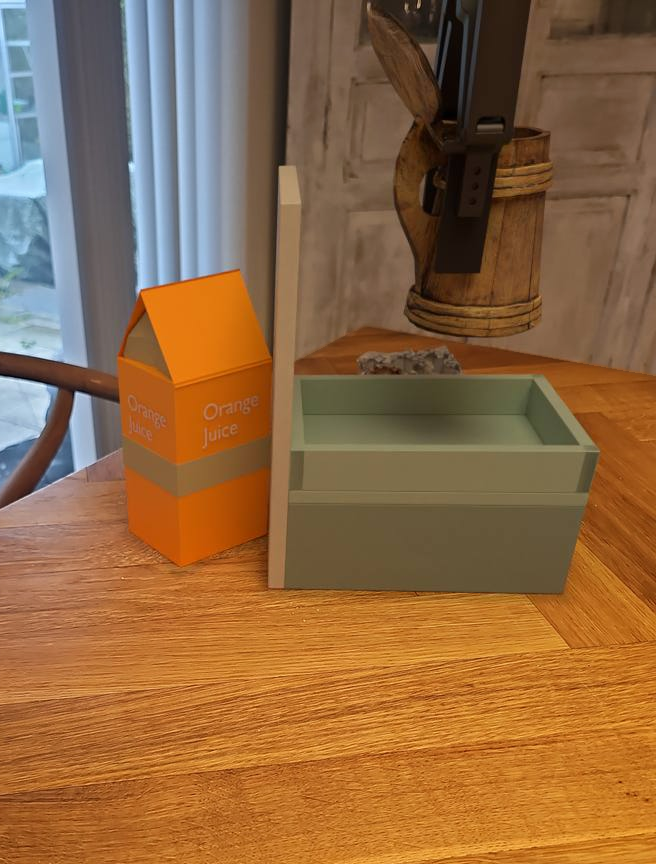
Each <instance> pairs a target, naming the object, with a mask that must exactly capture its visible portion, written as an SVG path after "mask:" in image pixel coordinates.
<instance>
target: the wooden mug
mask: <svg viewBox="0 0 656 864" xmlns="http://www.w3.org/2000/svg"><path fill="white" fill-rule="evenodd" d="M367 32H368V37H369V40H370V43H371V46H372V49H373V51H374V54H375V56H376V58H377V61H378V63H379V65H380V67H381V68H382V71H383V72H384V74H385V76H386V78H387V80H388V82H389V83H390V85H391V86H392V88H393V89H394V91H395V92H396V94H397V96H398V97H399V98H400V100H401V101H402V102H403V105H404V106H405V107H406V109H407V110H408V112H409V113H410V114H411V116H412V118H413V119H412V120H413V121H412V125H411V126H410V127H409V130H408V131H407V133H406V134H405V136H404V139H403V141H402V144H401V146H400V149H399V152H398V154H397V157H396V160H395V166H394V171H393V178H392V191H393V192H392V193H393V194H392V195H393V206H394V208H395V212H396V214H397V218H398V221H399V224H400V227H401V229H402V231H403V234H404V236H405V238H406V241H407V243H408V245H409V247H410V251H411V255H412V258H413V264H414V265H413V266H414V283H413V284H412V285H410V287H409V289H408V291H407V295H406V299H405V304H404V309H403V315H404V316H405V317H406V319H407V320H408V323H410V324H412V325H414V327H416V328H417V329H420V330H423V331H425V332H429V333H433V334H437V335H442V336H448V337H455V338H474V339H476V338H478V339H479V338H481V339H487V338H488V339H489V338H490V339H491V338H492V339H494V338H496V339H497V338H506V337H513V336H516V335H519V334H523V333H525V332H528V331H530V330H532V329H534V328H536V327H537V326H539V324H541V323H543V322H542V321H543V318H542V317H543V294H542V291H541V290H540V279H541V266H542V251H543V236H544V234H543V233H544V222H545V209H546V197H547V191H548V190H549V189H550V188H551V187H553V181H554V167H553V165H554V163H553V159H551V158H550V149H551V148H550V146H551V137H552V136H551V135H552V133H551V130H545V129H542V128H539V127H535V126H528V125H514V126H513V127H514V134H513V137H512V140H511V142H510V144H509V145H504V146H503V147H502V149H501V152H500V154H499V158H498V164H497V170H496V177H495V183H494V189H493V195H492V202H491V208H490V214H489V220H488V227H487V233H486V239H485V245H484V252H483V258H482V264H481V270H480V273H455V274H435V272H434V265H435V257H436V250H437V242H438V234H439V227H440V219H441V211H442V204H443V196H444V188H445V181H446V173H447V165H448V158H449V155H442V146H443V144H444V143H445V142H446V140H455V138H456V127H457V122H452V121H445V120H442V108H441V107H442V96H441V91H440V88H439V84H438V81H437V79H436V77H435V75H434V72H433V71H434V69H433V68H432V65H431V63H430V61H429V59H428V57H427V55H426V53H425V52H424V50H423V49H422V47H421V45H420V43H419V42H418V40H417V39H416V38H415V37H414V36H413V34H412V33H411V31H410V30H409V29H408V28H407V27H406V26H405V25H404V23H402V21H401V20H399V18H397V17H396V16H394V15H393V14H392V13H390V12H389V11H388V10H386V9H385V8H383V7H382V6H380V5H378V4H377V3H375V2H373V1H372V3H371V5H370V8H369V10H368V12H367ZM438 166H439V167H438ZM435 167H438V169H437V171H436V173H435V176H434V178H433V184H434V185H435V186H436V187H437V192H436V196H435V201H434V206H433V210H432V213H431V214H429V213H428V212H426V211H424V210H423V209H422V203H421V202H420V199H419V198H420V188H421V184H422V182H423V179H424V177H425V176H426V173H427V172H428V171H429V170H430V169H432V168H435Z"/></svg>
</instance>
